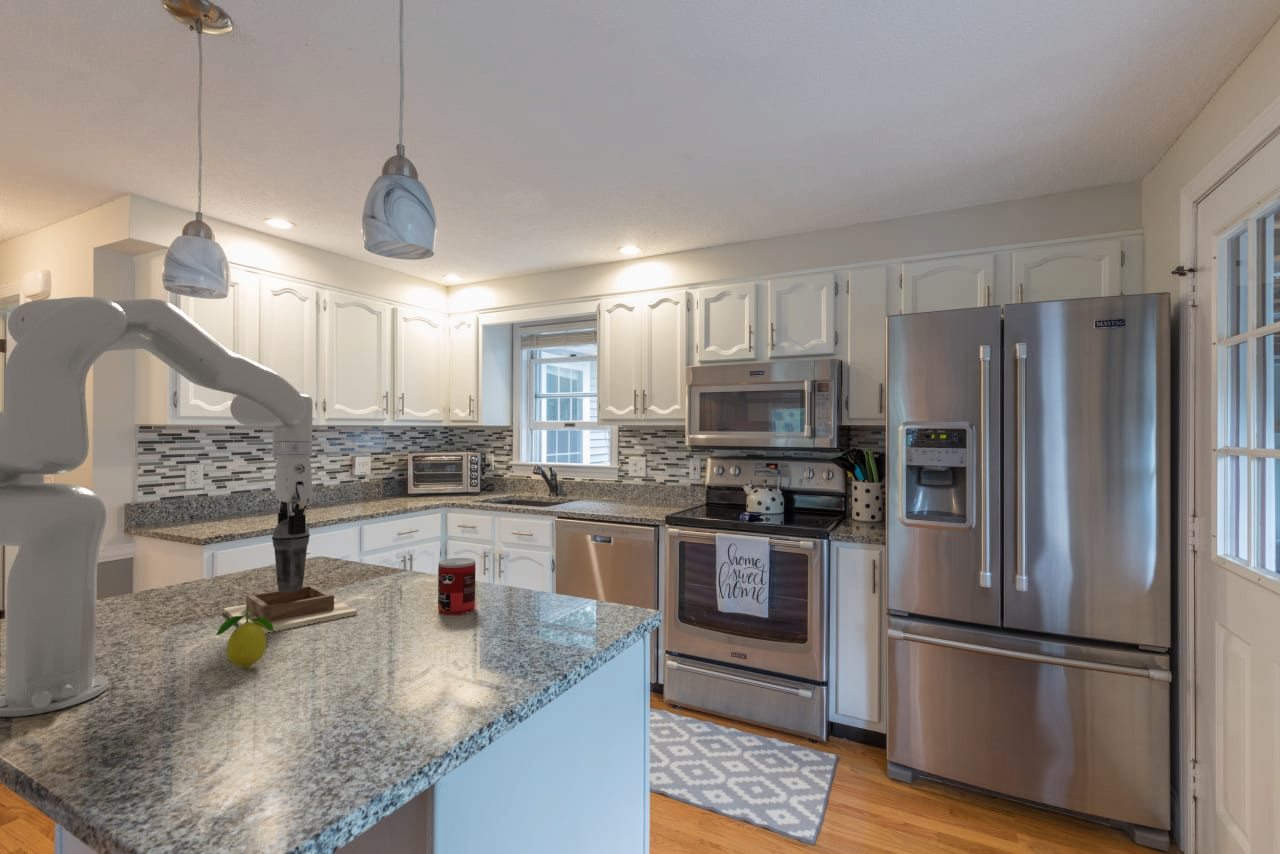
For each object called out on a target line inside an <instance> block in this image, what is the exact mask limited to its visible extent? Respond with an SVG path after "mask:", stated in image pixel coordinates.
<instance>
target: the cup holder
mask: <svg viewBox="0 0 1280 854" xmlns="http://www.w3.org/2000/svg"><path fill="white" fill-rule="evenodd" d="M245 596H246V602H245V604H240V605H235V606H229V607H223V611H222V613H223V614H224V615H225V614H226V615H227V616H226V615H225V616H226V617H228V619H229V618H231V617H234V616H244V615H245V614H246V613H247V608H248V617H249V618H251V619H254V618H265V619H267V620H269V621H270V622H271V624H272V625H273V630H274V631H275V632H279V630H280V631H285V630H290V629H294V627H295V628H298V627H299V626H300V627H304V625H305V626H309V625H308V624H310V625H314V624H313V623H315V624H318V622H320V623H324V622H327V621H328V622H329V621H334V620H338V618H339V619H343V618H342V617H344V618H349V617H354V616H357V615H358V610H357V608H354V607H352V606H349V605H348V604H346V603H345V602H342V601H341V600H338V599H336V598H335V595H334V594H332V593H330V592H328V591H326V590H324V589H323V588H320V587H318V586H317V585H315V584H309V585H302V590H299V591H295V592H285V593H283V592H279V591H278V590H272V591H266V592H260V593H253V594H248V595H245ZM246 615H247V614H246ZM246 615H245V616H244V617H243V618H242V619H240V620H239V621H238V622H237V624H238V625H239V626H241V625H243V624H244V623H245V622H246ZM353 615H354V616H353ZM348 616H349V617H348ZM249 618H248V621H249V622H251V623H254V622H253V621H252V620H251V619H249ZM237 624H236V625H237ZM238 625H237V626H238ZM239 626H238V627H239ZM300 627H299V628H300ZM261 628H262V627H261ZM289 628H290V629H289ZM262 629H263V631H264V633H265V634H269V633H268V632H270V633H274V632H273V631H270V630H267V629H264V628H262ZM284 629H285V630H284Z"/></svg>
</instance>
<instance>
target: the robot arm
mask: <svg viewBox="0 0 1280 854" xmlns="http://www.w3.org/2000/svg"><path fill="white" fill-rule="evenodd" d="M7 330H8V332H9V334H10V337H11V338H12V339H13V341H14V342H15V343H16V344H15V346H14V347H13V349H12V351H11V353H10V354H9V357H8V358H7V362H6V364H5V369H4V377H3V389H4V390H3V391H4V392H3V396H4V397H3V400H4V401H3V402H4V403H3V405H4V406H3V407H4V410H2V411H1V410H0V546H6V547H7V546H9V547H19V548H18V551H17V553H16V555H15V557H14V560H13V562H12V565H11V567H10V570H9V573H8V577H7V582H6V583H7V585H6V624H5V626H6V628H5V629H6V630H5V631H6V633H5V636H6V637H5V640H6V641H5V669H4V670H5V676H4V681H5V682H4V683H5V684H4V692H2V693H1V694H0V717H5V718H6V717H7V718H10V717H13V718H15V717H24V716H25V717H26V716H31V715H32V716H33V715H38V714H43V713H49V712H54V711H57V710H61V709H65V708H69V707H72V706H75V705H78V704H81V703H83V702H86V701H88V700H91V699H94V698H95V697H97V696H99V695H101V694H102V693H103V692H105V691H106V690H107V689H108V686H109V678H108V677H107V676H106V675H104V674H100V673H99V674H98V673H96V644H97V641H96V640H97V639H96V638H97V635H96V634H97V594H98V593H97V591H98V589H97V588H98V586H97V585H98V584H97V583H98V580H97V578H98V562H99V553H100V547H101V543H102V539H103V536H104V531H105V528H106V524H107V523H106V522H107V509H106V506H105V504H104V501H103V500H102V499H101V497H100V496H99V495H98V494H96V493H95V491H92V490H90V489H88V488H87V487H84V486H80V485H76V484H71V483H60V482H59V483H58V482H57V483H55V482H45V475H49V476H50V475H59V474H61V475H62V474H65V473H69V472H72V471H75V470H76V469H78V468H79V467H81V466H82V465H83V464H84V463H85V462H86V459H87V457H88V455H89V450H90V449H89V448H90V439H89V427H88V426H89V425H88V413H87V401H86V400H87V399H86V385H87V377H88V374H89V371H90V369H91V367H92V366H93V364H94V363H95V362H96V360H98V359H99V357H100V356H102V355H103V354H105V353H106V352H110V351H111V352H112V351H124V350H145V351H147V352H149V353H151V354H152V355H153V356H155V357H156V358H157V359H159V360H160V361H162V362H163V363H165V364H166V365H167V366H168V367H170V368H171V369H173V370H174V371H176V372H177V373H178V374H180V376H182V377H184V378H185V379H186V380H188V382H190V383H192V384H194V385H197V386H199V387H203V388H206V389H210V390H214V391H219V392H223V393H227V394H232V395H236V396H234V398H233V399H232V401H231V403H230V406H229V408H230V410H229V411H230V414H231V416H232V417H233V418H234V420H235V421H236V422H237V423H240V424H241V425H244V426H247V427H257V428H258V427H272V451H271V452H272V455H271V456H272V458H273V457H274V458H276V462H275V463H276V464H275V466H276V467H275V476H274V477H275V480H274V493H275V498H276V500H278V501H277V503H278V507H277V525H278V524H279V523H280V522H282V521H283V520H285V519H288V534H290V535H294V534H303V533H305V525H307V524H306V519H307V518H306V517H307V516H306V515H307V511H306V510H307V509H306V508H307V503H309V502H311V501H312V499H313V476H312V462H311V457H313V409H314V408H313V407H314V406H313V399H312V397H311V396H310V395H308V394H304V393H300V392H299V391H298V390H297V389H296V388H295V387H294V385H292V384H291V383H290V382H289V381H288V380H286V379H285V378H284V377H282V376H281V375H280V374H279V373H277V372H275V371H274V370H273V369H270V368H268V367H266V366H264V365H261V364H259V363H257V362H255V361H253V360H250V359H249V358H247V357H244V356H242V355H240V354H237V353H235V352H233V351H231V350H229V349H227V348H226V347H225V346H223V345H222V344H221V343H220V342H218V341H217V340H216V339H215V338H214V337H213V336H211V334H209V333H208V332H207V331H205V330H204V328H202V327H201V326H200V325H198V324H197V323H196V322H195V321H194V320H193V319H191V318H190V317H189V316H188V315H186V314H185V313H184V312H183V311H182V310H181V309H179V308H178V307H177V306H175V305H174V304H172V303H170V302H168V301H166V300H162V299H156V298H143V299H142V298H141V299H139V298H138V299H126V300H113V301H112V300H110V299H109V300H108V299H106V298H101V297H96V296H95V297H94V296H74V297H73V296H72V297H63V298H49V299H47V298H46V299H38V300H37V299H35V300H32V301H26V302H25V303H22V304H19V305H18V306H17V307H16V308H14V309H13V310H12V311H11V313H10V315H9V317H8V319H7ZM287 503H289V508H290V515H291V516H288V511H287Z"/></svg>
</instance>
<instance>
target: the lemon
mask: <svg viewBox="0 0 1280 854" xmlns="http://www.w3.org/2000/svg"><path fill="white" fill-rule="evenodd" d="M246 614H247V615H246ZM246 614H245V615H246V622H245V623H244V624H243V625H241V626H238V627H236V628H235V629H234V630H233V631H232V633H231V635H230V636H229V639H228V640H227V645H226V655H227V658H228V660H229V662H230V663H231V664H232V665H235V666H237V667H239V666H240V667H243V668H244V669H245V670H246V669H249V668H250V667H251V666H252V665H253V664H254V663H256V662H258V661H259V660H261V658H262V657H263V655H265V651H266V649H267V648H266V647H267V637H266V633H264V631H263V629H262V628H264V629H267V630H270V631H274V630H273V625H272V624H271V622H270V621H269V620H267V619H265V618H254V619H251V618H249V617H248V608H247V613H246ZM245 615H244V616H245ZM244 616H234V617H231V618H229V617H228V618H227V619H226V620H225V621H224V622H223V623H222V624H221V625H220V628H219V629H218V630H217V632H216V635H215V636H219V635H220V636H221V635H222V634H223V633H225V632H226V631H227V630H229V629H230V628H232V627H233V626H234V625H236V623H237V622H238V621H239V620H240V619H242V618H243V617H244ZM248 618H249V619H251V620H252V621H253V622H254V623H251V622H249V621H248ZM261 627H262V628H261Z"/></svg>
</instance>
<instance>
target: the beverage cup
mask: <svg viewBox="0 0 1280 854" xmlns="http://www.w3.org/2000/svg"><path fill="white" fill-rule="evenodd" d="M287 511H288V516H291V515H290V508H289V503H287ZM309 529H310V528H309V527H308V525H307V524H306V525H305V533H303V534H294V535H290V534H288V519H285V520H283V521H282V522H280V523H279V524H278V523H277V525H276V526H275V528H274V529H273V532H272V537H271V539H272V545H273V546H272V547H273V549H274V558H275V559H274V560H275V571H276V572H275V574H276V583H277V589H278V591H279V592H283V593H285V592H295V591H299V590H302V586H304V585H303V584H304V580H305V578H304V577H305V569H306V561H307V550H308V545H309V541H310V537H311V535H310V530H309Z"/></svg>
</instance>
